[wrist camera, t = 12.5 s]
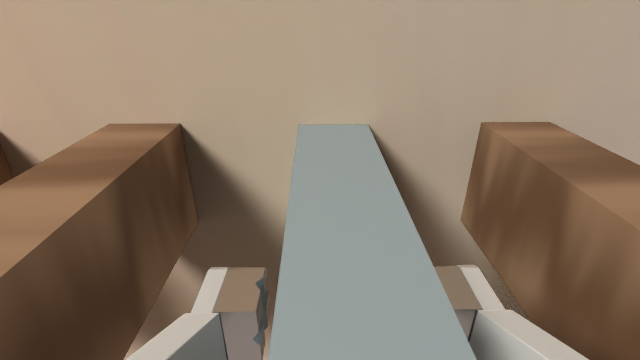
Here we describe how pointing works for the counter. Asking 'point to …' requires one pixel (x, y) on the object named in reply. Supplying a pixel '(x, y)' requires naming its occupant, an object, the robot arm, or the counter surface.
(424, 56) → the counter surface
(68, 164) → the domino
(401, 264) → the light blue domino
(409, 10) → the counter surface
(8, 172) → the domino
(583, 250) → the brown wooden block
